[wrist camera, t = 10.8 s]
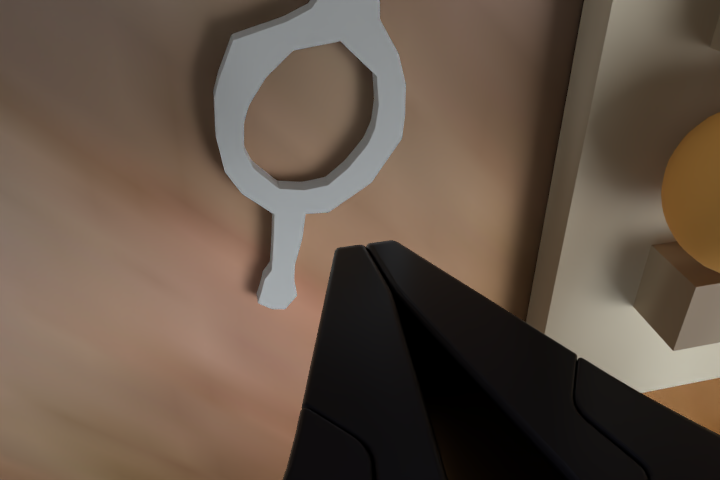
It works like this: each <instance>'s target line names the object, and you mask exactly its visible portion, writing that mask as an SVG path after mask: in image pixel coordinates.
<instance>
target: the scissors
mask: <svg viewBox="0 0 720 480" xmlns="http://www.w3.org/2000/svg"><path fill="white" fill-rule="evenodd" d="M339 41H341V42H342V43H343V44H344V45H345V46H346V47H347V48H348V49H349V50H350V51H351V52H352V53H353V54H354V55H355V56H356V57H357V58H358V59H359V60H360V61H361V62H362V63H363V64H364V65H366V66H367V67H368V68H369V69H370V70H371V71H372V74H373V89H374V102H373V109H372V116H371V121H370V124H369V126H368V128H367V131H366V133H365V135H364V137H363V138H362V139H361V141H360V142H359V143H358V144H357V146H356V147H355V148H354V150H353V151H352V152H351V153H350V154H349V156H348V157H347V158H346V159H345V160H344V161H343V162H342V163H341V164H340V165H339V166H337V167H336V168H335V169H334V170H333V171H331V172H330V173H329V174H328V175H327V176H325V177H322V178H318V179H313V180H308V181H303V182H295V181H277V180H276V179H274V178H273V177H272V176H271V175H269V174H268V173H267V172H266V171H264V170H263V169H262V168H261V167H259V166H258V165H257V164H256V163H254V162H253V161H252V160H251V158H250V156H249V154H248V152H247V150H246V149H245V147H244V121H245V118H246V114H247V110H248V107H249V104H250V103H251V101H252V99H253V98H254V96H255V94H256V93H257V91H258V90H259V88H260V86H261V85H262V83H263V82H264V80H265V78H266V77H267V76H268V75H269V74H270V73H271V72H272V71H273V70H274V69H275V68H276V67H277V66H278V65H279V64H280V63H281V62H282V61H283V60H284V59H285V58H286V57H287V56H288V55H289V54H290V53H291V52H292V51H293V50H298V49H303V48H309V47H314V46H319V45H324V44H329V43H334V42H339ZM213 94H214V118H215V133H216V139H217V143H218V147H219V151H220V155H221V159H222V163H223V166H224V170H225V173H226V174H227V175H228V177H229V178H230V179H231V180H232V182H233V183H234V184H235V186H236V187H237V188H238V189H239V191H240V192H241V193H242V194H243V195H245V196H246V197H248V198H249V199H251V200H252V201H254V202H255V203H257V204H259V205H260V206H262V207H263V208H265V209H266V210H268V211H269V212H271V213H272V235H271V252H270V262H269V263H268V265H267V266H266V267H265V269H264V270H263V272H262V276H261V280H260V284H259V287H258V291H257V299H258V303H259V304H261V305H264V306H266V307H268V308H271V309H286V308H287V306H288V305H289V304H290V303H291V302H292V301H293V300H294V299H295V297H296V296H297V292H296V286H295V281H294V272H295V263H296V259H297V256H298V252H299V248H300V245H301V241H302V237H303V229H304V222H305V214H312V213H328V212H330V211H331V210H333V209H334V208H336V207H337V206H338V205H340V204H341V203H343V202H344V201H346V200H347V199H349V198H350V197H351V196H353V195H354V194H356V193H357V192H359V191H360V190H361V189H363V188H364V187H366V186H367V185H369V184H370V183H371V182H372V181H373V179H374V178H375V176H376V175H377V174H378V172H379V171H380V169H381V168H382V166H383V165H384V164H385V162H386V161H387V159H388V158H389V156H390V155H391V153H392V152H393V151H394V149H395V148H396V146H397V145H398V143H399V142H400V141H401V139H402V135H403V127H404V118H405V96H406V83H405V79H404V75H403V70H402V66H401V62H400V58H399V53H398V52H397V50H396V48H395V46H394V44H393V42H392V41H391V39H390V37H389V35H388V33H387V31H386V30H385V28H384V26H383V24H382V22H381V20H380V0H310V1H309V2H308V3H307V4H305V5H303V6H302V7H300V8H298V9H296V10H294V11H292V12H290V13H288V14H286V15H285V16H282V17H279V18H276V19H274V20H271V21H268V22H265V23H262V24H259V25H256V26H253V27H251V28H248V29H245V30H242V31H239V32H236V33H233V34H232V35H231V37H230V40H229V43H228V46H227V48H226V51H225V54H224V57H223V60H222V62H221V65H220V68H219V71H218V74H217V78H216V82H215V86H214V90H213Z"/></svg>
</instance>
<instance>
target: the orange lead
mask: <svg viewBox="0 0 720 480" xmlns="http://www.w3.org/2000/svg"><path fill="white" fill-rule="evenodd" d="M661 200H662V208H663V213H664V216H665V219H666V222H667V224H668V226H669V229H670V231H671V232H672V234H673V236H674V238H675V239H676V240H677V242H678V243H679V245H680V246H681V247H682V248H683V249H684V250H685V251H686V252H687V253H688V254H689V255H690V256H692V257H693V258H694V259H695V260H697V261H698V262H699V263H701V264H702V265H703V266H705V267H707V268H709V269H712V270H714V271H716V272H718V273H720V112H718V113H716V114H714V115H712V116H710V117H708V118H707V119H705V120H704V121H703V122H701V123H700V124H699V125H697V126H696V127H695V128H694V129H692V130H691V131H690V132H689V133H688V134H687V135H686V136H685V137H684V138H683V139H682V141H681V142H680V143H679V145H678V146H677V148H676V149H675V150H674V152H673V154H672V156H671V157H670V159H669V161H668V164H667V166H666V169H665V173H664V178H663V183H662V190H661Z"/></svg>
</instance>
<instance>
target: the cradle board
mask: <svg viewBox="0 0 720 480" xmlns="http://www.w3.org/2000/svg"><path fill="white" fill-rule="evenodd" d="M718 112H720V0H584V4H583V9H582V15H581V21H580V26H579V32H578V37H577V43H576V48H575V54H574V59H573V65H572V70H571V76H570V81H569V87H568V92H567V98H566V103H565V109H564V114H563V120H562V125H561V131H560V136H559V142H558V148H557V153H556V159H555V164H554V170H553V175H552V181H551V186H550V192H549V197H548V203H547V208H546V214H545V219H544V225H543V230H542V236H541V241H540V247H539V252H538V258H537V264H536V269H535V275H534V280H533V286H532V291H531V297H530V302H529V308H528V313H527V319H526V323H528V324H529V325H531V326H532V327H534V328H535V329H537V330H539V331H540V332H542V333H543V334H545V335H547V336H548V337H550V338H551V339H553V340H555V341H556V342H558V343H559V344H561V345H563V346H564V347H566V348H567V349H569V350H571V351H572V352H574V353H575V354H577V360H578V358H584V359H585V360H587V361H589V362H590V363H592V364H593V365H595V366H597V367H598V368H600V369H601V370H603V371H605V372H606V373H608V374H610V375H611V376H613V377H615V378H616V379H618V380H620V381H621V382H623V383H625V384H626V385H628V386H630V387H631V388H633V389H635V390H636V391H638V392H640V393H644V392H649V391H654V390H659V389H664V388H669V387H674V386H679V385H684V384H689V383H694V382H699V381H704V380H710V379H715V378H720V273H718V272H716V271H714V270H712V269H709V268H707V267H705V266H703V265H702V264H701V263H699V262H698V261H697V260H695V259H694V258H693V257H692V256H690V255H689V254H688V253H687V252H686V251H685V250H684V249H683V248H682V247H681V246H680V245H679V243H678V242H677V240H676V239H675V238H674V236H673V234H672V232H671V231H670V229H669V226H668V224H667V222H666V219H665V216H664V213H663V208H662V200H661V190H662V183H663V178H664V173H665V169H666V166H667V164H668V161H669V159H670V157H671V156H672V154H673V152H674V150H675V149H676V148H677V146H678V145H679V143H680V142H681V141H682V139H683V138H684V137H685V136H686V135H687V134H688V133H689V132H690V131H691V130H692V129H694V128H695V127H696V126H697V125H699V124H700V123H701V122H703V121H704V120H705V119H707V118H708V117H710V116H712V115H714V114H716V113H718Z"/></svg>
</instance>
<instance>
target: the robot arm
mask: <svg viewBox="0 0 720 480" xmlns="http://www.w3.org/2000/svg"><path fill="white" fill-rule="evenodd" d="M283 480H720V435H718V434H716V433H715V432H713V431H711V430H709V429H707V428H705V427H703V426H701V425H699V424H697V423H695V422H693V421H691V420H689V419H687V418H686V417H684V416H682V415H680V414H678V413H676V412H675V411H673V410H671V409H669V408H667V407H665V406H663V405H662V404H660V403H658V402H656V401H654V400H652V399H651V398H649V397H647V396H645V395H643V394H642V393H640V392H638V391H636V390H635V389H633V388H631V387H630V386H628V385H626V384H625V383H623V382H621V381H620V380H618V379H616V378H615V377H613V376H611V375H610V374H608V373H606V372H605V371H603V370H601V369H600V368H598V367H597V366H595V365H593V364H592V363H590V362H589V361H587V360H585V359H584V358H578V360H577V354H575V353H574V352H572V351H571V350H569V349H567V348H566V347H564V346H563V345H561V344H559V343H558V342H556V341H555V340H553V339H551V338H550V337H548V336H547V335H545V334H543V333H542V332H540V331H539V330H537V329H535V328H534V327H532V326H531V325H529V324H528V323H526V322H524V321H523V320H521V319H520V318H518V317H516V316H515V315H513V314H512V313H510V312H508V311H507V310H505V309H504V308H502V307H500V306H499V305H497V304H496V303H494V302H492V301H491V300H489V299H488V298H486V297H484V296H483V295H481V294H480V293H478V292H476V291H475V290H473V289H472V288H470V287H468V286H467V285H465V284H464V283H462V282H460V281H459V280H457V279H456V278H454V277H452V276H451V275H449V274H448V273H446V272H444V271H443V270H441V269H440V268H438V267H436V266H435V265H433V264H432V263H430V262H428V261H427V260H425V259H424V258H422V257H420V256H419V255H417V254H416V253H414V252H412V251H411V250H409V249H408V248H406V247H404V246H403V245H401V244H400V243H398V242H396V241H393V240H390V241H383V242H376V243H370V244H368V245H367V246H366V247H365V246H363V245H354V246H347V247H340V248H337V249H336V250H335V253H334V258H333V262H332V267H331V272H330V277H329V281H328V286H327V291H326V295H325V300H324V305H323V310H322V314H321V319H320V324H319V328H318V333H317V338H316V343H315V347H314V352H313V357H312V361H311V366H310V371H309V376H308V380H307V385H306V390H305V394H304V399H303V404H302V410H301V411H300V416H299V421H298V425H297V430H296V434H295V438H294V442H293V446H292V450H291V454H290V457H289V461H288V465H287V469H286V472H285V474H284V477H283Z"/></svg>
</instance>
